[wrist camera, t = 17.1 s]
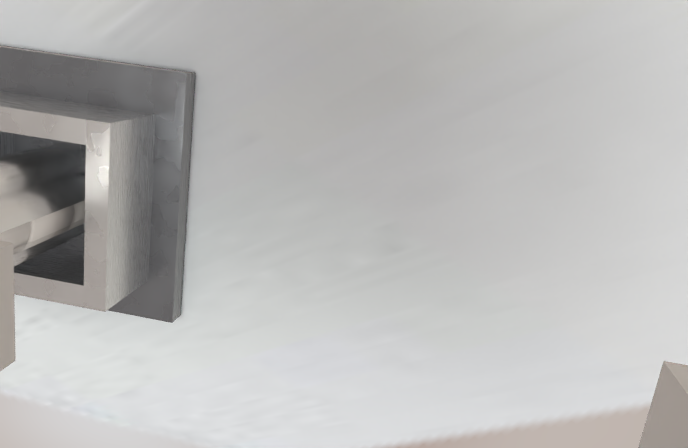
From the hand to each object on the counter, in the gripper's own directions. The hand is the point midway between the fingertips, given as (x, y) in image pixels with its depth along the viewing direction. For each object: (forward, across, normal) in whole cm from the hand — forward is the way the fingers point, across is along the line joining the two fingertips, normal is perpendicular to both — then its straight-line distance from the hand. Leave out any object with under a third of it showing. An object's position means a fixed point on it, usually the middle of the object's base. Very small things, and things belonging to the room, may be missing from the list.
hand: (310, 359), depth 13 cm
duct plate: (+31, -23, -6) cm, 39 cm away
